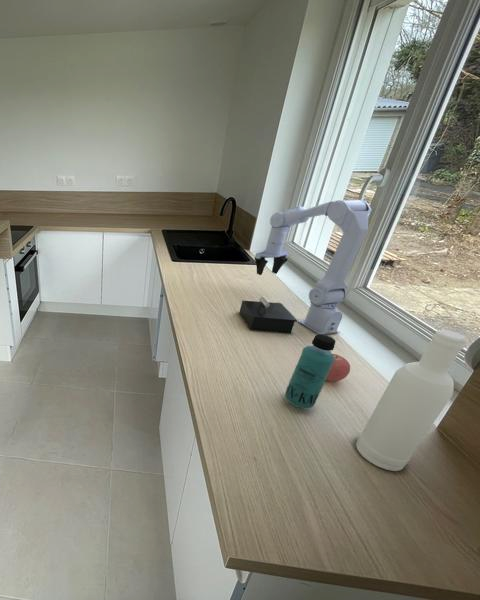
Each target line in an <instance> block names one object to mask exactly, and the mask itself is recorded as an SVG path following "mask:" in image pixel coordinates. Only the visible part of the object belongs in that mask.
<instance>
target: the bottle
mask: <svg viewBox="0 0 480 600" xmlns="http://www.w3.org/2000/svg"><path fill="white" fill-rule="evenodd" d="M467 341H468V338H467V337H466V336H464V335H463V334H462V333H460V332H457V331H454V330H449V329H438V330H437V331H435V333H434V334H433V335H432V336H431V340H430V342H429V344H428V345H427V347H426V349H425V351H424V352H423V354H422V356H421V358H420V359H419V361H413V362H407V363H406V364H404V365H402V366H401V367H399V368H398V369H397V370H396V371H395V372H394V374H393V375H392V377H391V379H390V380H389V382H388V385H387V386H386V388H385V390H384V391H383V393H382V395H381V397H380V399H379V401H378V403H377V404H376V406H375V408H374V410H373V411H372V414H371V415H370V417H369V419H368V421H367V423H366V424H365V426H364V428H363V430H362V431H361V432H360V433H359V435H358V438H357V440H356V443H355V447H356V449H357V451H358V452H359V454H360V455H361V456H362V457H363V458H365V460H367V462H369V463H371V464H373V465H374V466H376V467H379V468H381V469H384V470H386V471H392V472H398V471H402V470H403V469H404V468H405V466H406V465H407V464H408V463H409V462H410V460H411V457H412V456H413V454H414V453H415V451H416V450H417V448H418V447H419V445H420V444H421V443H422V441H423V440H424V439H425V436H426V435H427V433H428V432H429V430H430V429H431V427H432V426H433V424H434V423H435V422H436V420H437V419H438V417H439V416H440V415H441V413H442V411H443V410H444V409H445V407H446V405H447V404H448V402H449V401H450V400H451V398H452V396H453V395H454V387H455V383H454V379H453V378H452V377H451V375H450V374H449V372H448V371H449V369H450V368H451V366H452V364H453V363H454V361H455V360H456V358H457V357H458V355H459V353H460V352H461V350H464V348H465V347H466V343H467Z"/></svg>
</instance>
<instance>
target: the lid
mask: <svg viewBox="0 0 480 600" xmlns="http://www.w3.org/2000/svg"><path fill="white" fill-rule="evenodd" d="M242 303H243V304H244V305H245V307H246V308H247V310H248V311H249V312H250V314H251V315H252V317H253V318H254V319H266V320H279V321H291V322H295V323H297V322H298V319H297V318H296V317H295V316H294V315H293V314H292V313H291V312H290V311H289V310H288V309H287V307H285V306H284V304H283V303H281V302H271V301H269V302H268V301H267V300H266V298H264V297H263V296H261V297H259V301H258V300H257V301H255V300H241V304H242Z"/></svg>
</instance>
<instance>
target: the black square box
mask: <svg viewBox="0 0 480 600" xmlns="http://www.w3.org/2000/svg"><path fill="white" fill-rule="evenodd" d="M238 314H239V315H240V316H241V318H242V320H243V321H244V323H245V324H246V325H247V328H248V329H249V331H253V332H267V333H268V332H269V333H278V334H292V331H293V329H294V325H295V323H296V322H291V321H279V320H266V319H254V318H253V317H252V315H251V314H250V312H249V311H248V310H247V308H246V307H245V305H244V304H243V303H242V302H241V304H240V308H239V313H238Z"/></svg>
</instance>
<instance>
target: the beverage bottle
mask: <svg viewBox="0 0 480 600" xmlns="http://www.w3.org/2000/svg"><path fill="white" fill-rule="evenodd" d="M311 344H312V345H308V346H305V347H304V348H303V349H302V352H301V353H300V357H299V359H298V361H297V364H296V365H295V368H294V369H293V372H292V374H291V377H290V379H289V382H288V384H287V387H286V390H285V393H284V394H285V399H286V400H287V401H288V402H289V403H290V404H292V405H293V406H296V407H297V408H300V409H306V410H307V409H308V410H309V409H312V408H313V407H315V405H316V403H317V401H318V398H319V397H320V395H321V393H322V390H323V388H324V386H325V382H326V381H327V380H326V378H327V375H328V373H329V371H330V369H331V366H332V364H333V362H334V361H335V358H334V356H333V354H334V353H332V352H331V351H333V350H334V349H335V345H336V340H335V338H333V337H332V336H330V335H327V334H318V333H316V334H315V336H314V337H313V339H312V341H311Z"/></svg>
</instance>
